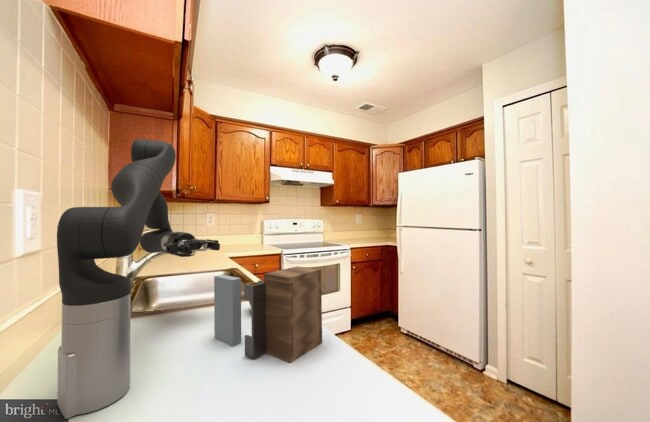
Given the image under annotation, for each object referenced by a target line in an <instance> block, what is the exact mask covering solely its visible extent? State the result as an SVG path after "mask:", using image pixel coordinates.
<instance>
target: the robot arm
mask: <svg viewBox="0 0 650 422" xmlns="http://www.w3.org/2000/svg"><path fill="white" fill-rule="evenodd" d="M130 147H131V148H130V159H131V162H130V163H129V162H128V163H127V164H126V165H125V166H123V167H122V168H121V169H120V170H119V171H118V173H117V174H116V175H115V176H114V178H112V180H111V183H110V184H111V185H110V189H111V193H112V195H113V196H112V197H114V199H115V201H116V202H117V203H118V204H119V205H120V206H76V207H75V206H73V207H69V208H68V209H66V210H65V211H64V212H63V213H62V214H61V216H60V217H59V221H58V223H57V229H56V248H57V261H58V263H57V264H58V265H57V266H58V284H59V289H60V293H61V346H58V348H57V403H56V404H57V406H58V408H59V410H60V413H61V414H62V416H63V418H64V419H65V420H68V419H70V418H72V417H74V416H79V415H83V414H88V413H93V412H95V411H97V410H100V409H103V408H106V407H107V406H110V405H112V404H114V403H115V402H117V401H118V400H119V399H121V398H122V397H124V396H125V395H126V394H127V392H129V390H130V387H131V303H132V302H131V292H132V289H131V284H132V283H131V281H130V278H129V277H127V276H126V275H125V276H124V275H121V274H117V273H113V272H110V271H108V270H105V269H103V268H101V267H100V266H98V264H97V263H96V260H101V259H117V258H124V257H125V258H126V257H129V256H131V254H133V253H134V252H135V251H136V250H137V248H138V246H139V245H140V247H141V248H142V250H143V251H145V252H147V253H150V254H155V253H165V254H169V255H172V256H176V257H180V258H187V257H189V256H191V255H192V254H193V253H196V252H205V251H208V250H210V251H211V250H212V251H220V249H221V243H219V240H217V239H209V238H207V239H199V238H196V237H195V236H194V235H193V234H191V233H190V232H183V231H174V230H173V229H172V227H171V223H170V221H169V207H168V202H167V200H166V199H165V196H164V195H163V194H162V192H160V191H161V189H162V185H163V184H164V180H165V179H166V177H167V176H168V175H169V174H170V173H171V171H172V170H173V168H174V166H175V163H176V156H177V155H176V149H175V148H174V146H173V145H172V144H171V143H169V142H167V141H163V140H162V141H161V140H153V139H146V138H145V139H144V138H136V139H133V141H132V143H131V146H130ZM145 226H146V227H147V228H148V229H150V230H152V231H149V232H146V233H144V230H145Z"/></svg>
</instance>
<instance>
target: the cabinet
mask: <svg viewBox="0 0 650 422" xmlns="http://www.w3.org/2000/svg"><path fill="white" fill-rule="evenodd" d="M263 281H264V283H266V354H267V355H270V356H272V357H274V358H276V359H279V360H281V361H284V362H286V363H288V364H291V363H293V362H294V361H296V360H297V359H299V358H301V357H302V356H304V355H305V354H306V353H308V352H310V351H311V350H313V349H315V348H316V347H318V346H320V345H321V344H323V318H322V317H323V313H322V312H323V307H322V302H323V301H322V299H323V297H322V269H321V268H314V267H313V268H312V267H307V266H306V267H305V266H297V265H296V266H292V267H288V268H283V269H280V270H274V271H271V272H265V273H263Z"/></svg>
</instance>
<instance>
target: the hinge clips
mask: <svg viewBox="0 0 650 422" xmlns="http://www.w3.org/2000/svg"><path fill="white" fill-rule="evenodd" d="M257 282H258V284H256V285H250V284H247V283H244V286H243V288H244V289H243V291H244V293H243V295H244V297H243V299H244V300H245V301H247V302H249V301H251V306H250V308H251V313H250V314H251V335H248V334H244V356H245V357H247V359H250V360H252V361H254V360H257V359H259V358H260V357H262V356H264V355H265V354H267V353H266V283H264V280H258V281H257Z"/></svg>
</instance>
